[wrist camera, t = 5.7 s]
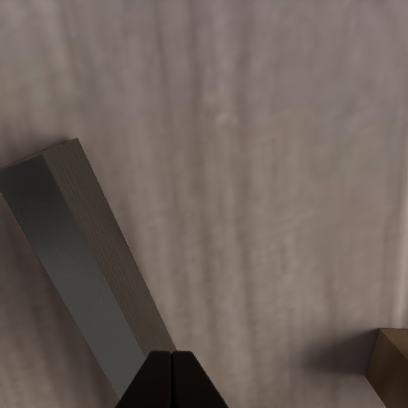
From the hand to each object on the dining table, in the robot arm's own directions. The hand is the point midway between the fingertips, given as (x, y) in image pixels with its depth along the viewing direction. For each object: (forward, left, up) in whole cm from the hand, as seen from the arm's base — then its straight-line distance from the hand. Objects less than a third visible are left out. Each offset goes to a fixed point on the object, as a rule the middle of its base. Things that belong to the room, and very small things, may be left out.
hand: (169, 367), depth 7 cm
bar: (-8, -2, -5) cm, 9 cm away
